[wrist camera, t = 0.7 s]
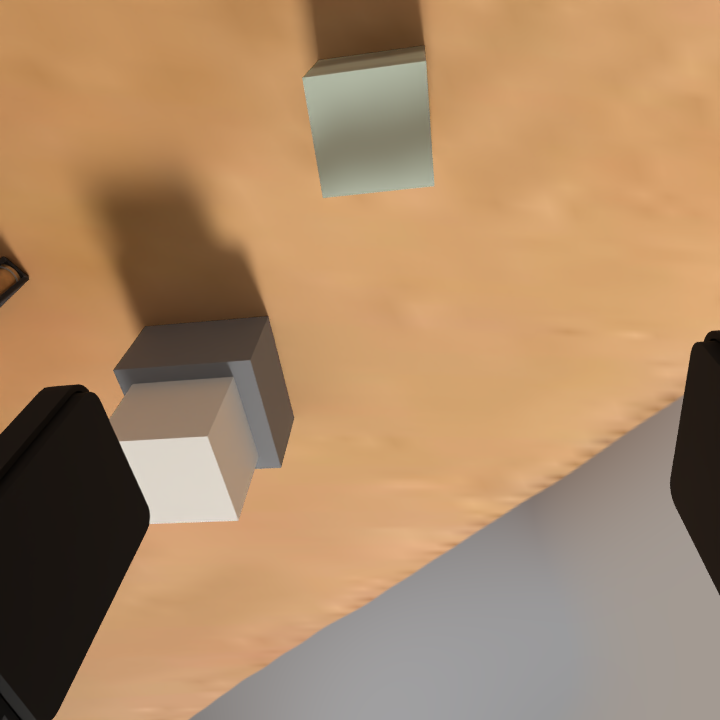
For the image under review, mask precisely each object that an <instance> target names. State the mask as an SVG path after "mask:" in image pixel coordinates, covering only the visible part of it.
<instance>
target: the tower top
mask: <svg viewBox="0 0 720 720" xmlns="http://www.w3.org/2000/svg"><path fill="white" fill-rule="evenodd" d="M109 421H110V423H111V425H112V427H113V430H114V432H115V434H116V436H117V438H118V441H119V443H120V445H121V447H122V449H123V452H124V454H125V456H126V458H127V460H128V463H129V465H130V467H131V469H132V471H133V474H134V476H135V478H136V480H137V482H138V485H139V487H140V489H141V491H142V493H143V496H144V498H145V500H146V502H147V504H148V507H149V511H150V522H149V524H159V523H187V522H214V521H238V520H239V517H240V514H241V511H242V508H243V504H244V501H245V498H246V495H247V492H248V489H249V486H250V482H251V479H252V476H253V473H254V470H255V467H256V463H257V460H258V457H259V456H258V453H257V450H256V447H255V444H254V440H253V437H252V434H251V431H250V428H249V424H248V421H247V418H246V415H245V412H244V409H243V405H242V402H241V399H240V396H239V393H238V389H237V386H236V383H235V380H234V377H222V378H208V379H194V380H181V381H167V382H153V383H139V384H132V386H131V387H130V389H129V390H128V392H127V393H126V395H125V396H124V398H123V399H122V401H121V402H120V404H119V405H118V407H117V408H116V410H115V411H114V413H113V414H112V416H111V417H110V419H109Z"/></svg>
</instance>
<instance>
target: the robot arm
mask: <svg viewBox="0 0 720 720" xmlns="http://www.w3.org/2000/svg"><path fill="white" fill-rule="evenodd" d="M670 489H671V495H672V499H673V501H674V504H675V506H676V509H677V511H678V513H679V514H680V517H681V519H682V520H683V523H684V525H685V526H686V529H687V531H688V533H689V535H690V536H691V539H692V541H693V543H694V545H695V547H696V548H697V550H698V553H699V555H700V557H701V559H702V561H703V563H704V565H705V566H706V569H707V571H708V573H709V575H710V577H711V579H712V581H713V583H714V585H715V587H716V589H717V591H718V593H719V595H720V330H718V331H711V332H709V333H708V334H707V335H706V337H705V339H704V342H696V343H695V344H694V345H693V347H692V350H691V355H690V361H689V367H688V373H687V380H686V386H685V392H684V398H683V404H682V410H681V417H680V424H679V429H678V435H677V441H676V447H675V454H674V460H673V466H672V472H671V478H670ZM149 522H150V511H149V507H148V504H147V502H146V500H145V498H144V496H143V493H142V491H141V489H140V487H139V485H138V482H137V480H136V478H135V476H134V474H133V471H132V469H131V467H130V465H129V463H128V460H127V458H126V456H125V454H124V452H123V449H122V447H121V445H120V443H119V441H118V438H117V436H116V434H115V432H114V430H113V427H112V425H111V423H110V421H109V419H108V416H107V414H106V412H105V410H104V408H103V405H102V403H101V401H100V399H99V398H98V396H97V395H96V394H95V393H92V392H89V390H88V389H87V388H86V387H84V386H83V385H79V384H78V385H66V386H54V387H47V388H44V389H43V390H41V391H40V392H39V393H38V394H37V395H36V396H35V397H34V398H33V400H32V401H31V402H30V403H29V404H28V405H27V406H26V407H25V408H24V409H23V410H22V411H21V413H20V414H19V415H18V416H17V417H16V418H15V419H14V420H13V421H12V422H11V423H10V424H9V426H8V427H7V428H6V429H5V430H4V431H3V432H2V433H1V434H0V720H52V719H53V718H54V717H55V715H56V714H57V712H58V710H59V708H60V706H61V704H62V702H63V700H64V698H65V696H66V694H67V692H68V690H69V688H70V686H71V684H72V682H73V680H74V678H75V676H76V674H77V672H78V670H79V668H80V666H81V664H82V662H83V660H84V658H85V656H86V653H87V651H88V649H89V647H90V645H91V643H92V641H93V639H94V637H95V635H96V633H97V631H98V629H99V627H100V625H101V623H102V621H103V619H104V617H105V615H106V613H107V611H108V609H109V607H110V605H111V603H112V601H113V599H114V597H115V594H116V592H117V590H118V588H119V586H120V584H121V582H122V580H123V578H124V576H125V574H126V572H127V570H128V568H129V566H130V564H131V562H132V560H133V558H134V556H135V554H136V552H137V550H138V548H139V546H140V544H141V542H142V540H143V537H144V535H145V533H146V531H147V529H148V526H149Z"/></svg>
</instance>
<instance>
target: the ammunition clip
mask: <svg viewBox="0 0 720 720" xmlns="http://www.w3.org/2000/svg"><path fill="white" fill-rule="evenodd" d="M28 280H29V277H27V276H26V275H25V274H24V273H23V272H22V271H21V270H19V269H18V268H17V267H16V266H15V265H14V264H12V263H11V262H10V261H9V260H8V259H7V258H6V257H2V258H0V307H1V306H2V305H3V304H4V303H5V302H6V301H7V300H8V299H9V298H10V297H11V296H12V295H13V294H14V293H16V292H17V291H18V290H19V289H20V288H21V287H22V286H23V285H24V284H25V283H26V282H27V281H28Z"/></svg>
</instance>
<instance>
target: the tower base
mask: <svg viewBox="0 0 720 720" xmlns="http://www.w3.org/2000/svg"><path fill="white" fill-rule="evenodd" d="M113 371H114V373H115V375H116V378H117V380H118V382H119V384H120V387H121V389H122V391H123V394H124V396H125V395H126V393H127V392H128V390H129V389H130V387H131V386H132V384H139V383H153V382H167V381H181V380H194V379H208V378H222V377H234V380H235V383H236V386H237V389H238V393H239V396H240V399H241V402H242V405H243V409H244V412H245V415H246V418H247V421H248V424H249V428H250V431H251V434H252V437H253V440H254V444H255V447H256V450H257V453H258V456H259V457H258V460H257V463H256V467H255V469H262V468H281V466H282V462H283V458H284V455H285V451H286V447H287V443H288V439H289V436H290V432H291V428H292V424H293V420H294V415H293V411H292V407H291V404H290V400H289V396H288V392H287V388H286V384H285V380H284V376H283V372H282V368H281V364H280V360H279V356H278V352H277V348H276V344H275V340H274V337H273V333H272V329H271V325H270V321H269V317H268V316H264V317H252V318H240V319H228V320H216V321H204V322H192V323H180V324H168V325H156V326H145V327H144V329H143V330H142V331H141V333H140V334H139V335H138V337H137V338H136V340H135V341H134V342H133V344H132V345H131V346H130V348H129V349H128V351H127V352H126V353H125V355H124V356H123V357H122V359H121V360H120V362H119V363H118V364H117V366H116V367H115V368H114V370H113Z"/></svg>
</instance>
